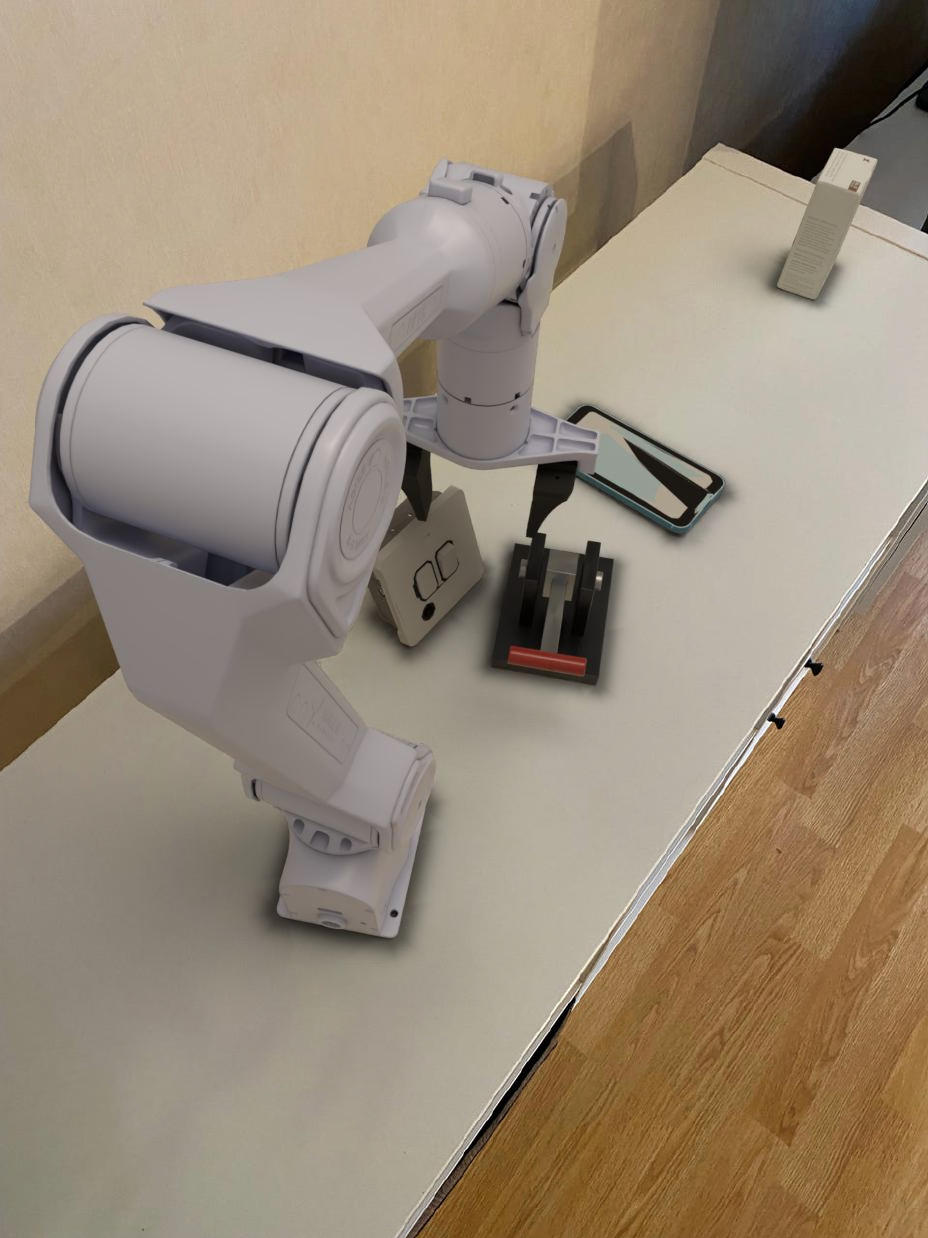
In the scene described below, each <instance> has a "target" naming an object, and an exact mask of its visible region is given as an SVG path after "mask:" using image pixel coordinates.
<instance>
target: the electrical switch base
mask: <svg viewBox="0 0 928 1238" xmlns="http://www.w3.org/2000/svg"><path fill="white" fill-rule="evenodd" d="M546 541H547V533H545V532H539V531H538V532H537V535H536V538H531V541H530V544H524V543H517V542H515V543H514V546H513V549H512V551H513V552H512V556H511V561H510V566H509V571H508V575H507V581H506V584H505V590H504V595H503V600H502V606H501V610H500V614H499V615H500V616H499V619H498V620H499V621H498V625H497V626H498V627H497V630H496V635H495V640H494V646H493V650H492V656H491V661H490V667H491V668H496V669H501V670H507V671H513V672H519V673H524V674H525V673H526V674H531V675H537V676H543V677H548V678H552V679H553V678H554V679H559V680H566V681H571V682H577V683H583V684H589V685H595V686H597V685H598V683H599V682H598V681H599V678H600V671H601V664H602V654H603V649H604V648H603V647H604V640H605V632H606V626H607V625H606V624H607V616H608V608H609V600H610V594H611V593H610V592H611V587H612V586H611V585H612V577H613V572H614V571H613V569H614V562H615V559H614V558H611V557H605V556H601V555H600V554H601V546H602V542H600V541H595V540H587V542H586V546H585V551H584V553H579V552H576V553H577V554H579V561H578V568H577V575H576V581H575V586H574V592H573V597H572V601H567V600H565V602H564V609H563V616H562V622H561V629H560V636H559V643H558V649H557V653H558V654H564V655H570V656H576V657H582V658H586V660H587V661H586V668H585V673H584V676H577V675H571V674H566V673H560V672H554V671H548V670H542V669H536V668H531V667H525V666H519V665H513V664H508V657H509V651H510V647H511V646H517V647H523V648H529V649H535V650H540V649H541V643H542V637H543V631H544V625H545V619H546V613H547V608H548V602H549V597H543V596H542V592H543V586H544V579H545V573H546V567H547V562H548V556H549V551H550V549H552V550H556V549H554V548H548V547H546ZM557 550H558V551H562V550H560V549H557ZM564 551H565V552H569V551H567V550H564ZM570 552H571V553H575V552H574V551H570Z"/></svg>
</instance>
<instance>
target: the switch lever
mask: <svg viewBox="0 0 928 1238" xmlns="http://www.w3.org/2000/svg"><path fill="white" fill-rule="evenodd" d="M549 549H550V551H549V556H548V562H547V567H546V573H545V579H544V586H543V592H542V596H543V597H549V602H548V608H547V613H546V619H545V625H544V631H543V637H542V643H541V649H540V650H535V649H529V648H523V647H517V646H511V647H510V651H509V657H508V664H513V665H519V666H525V667H531V668H536V669H542V670H548V671H554V672H560V673H566V674H571V675H577V676H584V673H585V668H586V661H587V660H586V658H582V657H576V656H570V655H564V654H558V653H557V649H558V643H559V636H560V629H561V622H562V616H563V609H564V602H565V600H567V601H572V597H573V592H574V586H575V581H576V575H577V568H578V561H579V554H577V553H578V552H574V553H571V552H572V551H568V552H565V551H566V550H561V551H558V550H559V549H555V550H552V549H553V548H549Z"/></svg>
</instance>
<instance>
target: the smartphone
mask: <svg viewBox="0 0 928 1238" xmlns="http://www.w3.org/2000/svg"><path fill="white" fill-rule="evenodd" d="M564 420H565V421H567V422H570V423H572V424H575V425H578V426H580V427H584V428H588V429H593V430H598V431H601V435H600V442H599V450H598V456H597V461H596V466H595V471H594V474H587V473H581V472H579V471H578V470H577V471H576V477H579V478H580V479H582V480H584V481H585V482H587V483H589V484H591V485H592V486H593V487H596V488H598V490H600V491H602V492H605V493H606V494H607V495H609V496H611V497H613V498H614V499H616V500H618V501H620V502H621V503H623V504H624V505H627V506H628V507H630V508H632V509H633V510H635V511H637V512H638V513H640V514H642V515H643V516H645V517H647V518H649V519H650V520H652V521H654V522H655V523H657V524H658V525H660V526H662V527H664V528H666V529H667V530H668V531H670V532H672V533H675V534H685V533H687V532H689V531H690V530H691V529H692V527H694V525H695V524H696V523H697V522H698V521H699V520H700V518H701V517H702V516H703V515H704V514H705V513H706V512H707V511H708V510H709V508H710V507H711V506H712V505H713V504H714V503H715V502H716V500H718V498H719V497H720V496H721V495H722V494H723V492H724V490H725V487H726V479H725V478H724V477H723V476H722V475H721V474H719V473H718V472H716V471H714V470H712V469H710V468H708V467H707V466H705V465H703V464H702V463H700V462H697V461H696V460H694V459H692V458H691V457H689V456H686V455H685V454H683V453H681V452H680V451H678V450H676V449H674V448H672V447H670V446H669V445H667V444H665V443H664V442H661V441H660V440H658V439H656V438H654V437H652V436H651V435H649V434H647V433H645V432H643V431H641V430H639V429H637V427H636V428H635V427H634V426H632V425H630V424H628V423H627V422H626V421H623V420H621V419H620V418H618V417H616V416H614V415H612V414H610V413H608V412H607V411H605V410H603V409H601V408H599V407H598V406H596V405H594V404H590V403H583V404H581V405H579V406H577V407H576V408H575V409H574V411H572V412H571V413H570V414H569V415H568V416H567V417H566V418H565V419H564Z"/></svg>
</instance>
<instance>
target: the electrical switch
mask: <svg viewBox="0 0 928 1238" xmlns="http://www.w3.org/2000/svg"><path fill="white" fill-rule="evenodd" d="M471 517H472V516H471V514H470V511H469V505H468V503H467V499H466V496H465V491H464V490H463V489H461V488H459V487H456V486H454V485H452V484H450V485H449V486H448V487H447V488H446V489H445V490H443V491H439V490H432V501H431V505H430V509H429V513H428V517H427V521H426V522H424V521H418V520H417V518H416V515H415V513H414V510H413V508H412V506H411V504H410V502H409V500H408V498H407V497H406V498H405V499H404V500H403V501H402V502H401V503H400V504H399V505H397V506H396V508H395V511H394V514H393V517H392V520H391V522H390V525H389V527H388V530H387V532H386V535H385V537H384V539H383V541H382V543H381V546H380V549H379V552H378V555H377V558H376V561H375V564H374V568H373V571H372V574H371V577H370V580H369V583H368V586H367V589H368V591H369V593H370V596H371V598H372V600H373V603H374V606H375V608H376V611H377V613H378V615H379V618H380V620H382V621H384V622H386V623H388V624H390V625H391V626H393V627H394V628H395V629H396V630H397V631H396V633H397V636H398V639H399V641H400V643H402V644H404V645H406V646H409V647H415V646H416V645H418V644H419V643H420V642H421V640H422V639H423V638H425V636H426V635H428V634H429V632H431V630H432V629H434V627H435V626H436V625H437V624H438V623H439V622H440V621H441V620H442V619H443V618H444V617H445V616H446V615H447V614H448V613H449V612H450V611H451V609H453V607H455V606H456V605H457V603H459V601H461V600H462V598H463V597H464V596H465V595H466V594H467V593H468V592H469V591H470V590H471V589H472V588H473V587H474V586H475V585H476V584H477V583H478V582H479V581H480V580H482V577H483V576H484V572H485V567H484V561H483V559H482V556H481V551H480V548H479V544H478V541H477V536H476V532H475V529H474V525H473V521H472V518H471ZM382 592H383V593H382Z"/></svg>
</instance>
